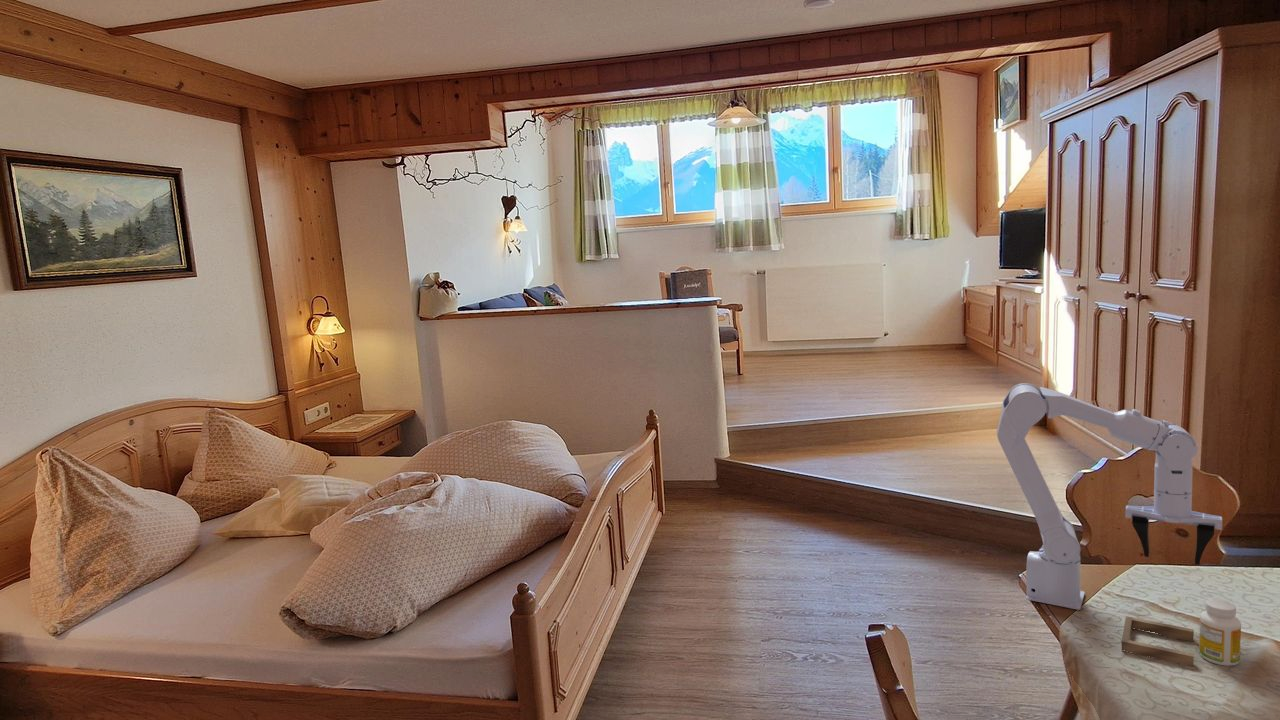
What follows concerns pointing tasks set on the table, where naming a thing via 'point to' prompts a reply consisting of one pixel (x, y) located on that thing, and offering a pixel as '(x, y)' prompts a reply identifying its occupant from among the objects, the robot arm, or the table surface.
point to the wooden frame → (1154, 650)
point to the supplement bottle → (1220, 633)
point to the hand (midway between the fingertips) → (1171, 558)
